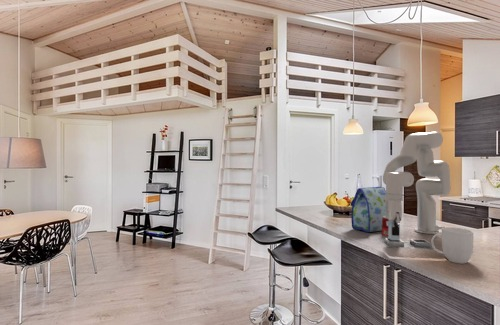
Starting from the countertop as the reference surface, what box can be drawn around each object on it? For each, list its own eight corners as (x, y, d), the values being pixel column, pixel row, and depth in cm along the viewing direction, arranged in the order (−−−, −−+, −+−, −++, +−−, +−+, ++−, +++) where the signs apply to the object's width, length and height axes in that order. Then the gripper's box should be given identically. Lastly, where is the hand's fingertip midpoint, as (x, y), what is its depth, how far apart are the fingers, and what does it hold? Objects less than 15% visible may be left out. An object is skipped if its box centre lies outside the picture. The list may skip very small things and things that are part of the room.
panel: (424, 243, 152) (425, 237, 152) (437, 251, 138) (437, 245, 138) (379, 241, 155) (379, 236, 155) (387, 249, 141) (387, 243, 141)
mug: (428, 259, 127) (429, 228, 127) (433, 253, 136) (433, 224, 136) (472, 267, 118) (472, 234, 118) (474, 260, 126) (474, 229, 126)
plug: (396, 238, 149) (397, 220, 149) (399, 240, 145) (399, 221, 145) (385, 237, 150) (386, 219, 150) (388, 239, 146) (388, 221, 146)
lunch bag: (371, 225, 197) (371, 185, 197) (394, 229, 183) (394, 187, 183) (347, 228, 186) (348, 186, 186) (370, 234, 172) (370, 189, 172)
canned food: (399, 238, 162) (399, 218, 162) (383, 237, 164) (384, 217, 164) (395, 235, 170) (395, 215, 170) (380, 234, 171) (380, 215, 171)
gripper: (381, 195, 156) (381, 230, 156) (391, 199, 140) (391, 238, 140) (396, 195, 155) (396, 230, 155) (408, 199, 139) (408, 238, 139)
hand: (393, 233), depth 147 cm, fingers closed on plug, 4 cm apart
